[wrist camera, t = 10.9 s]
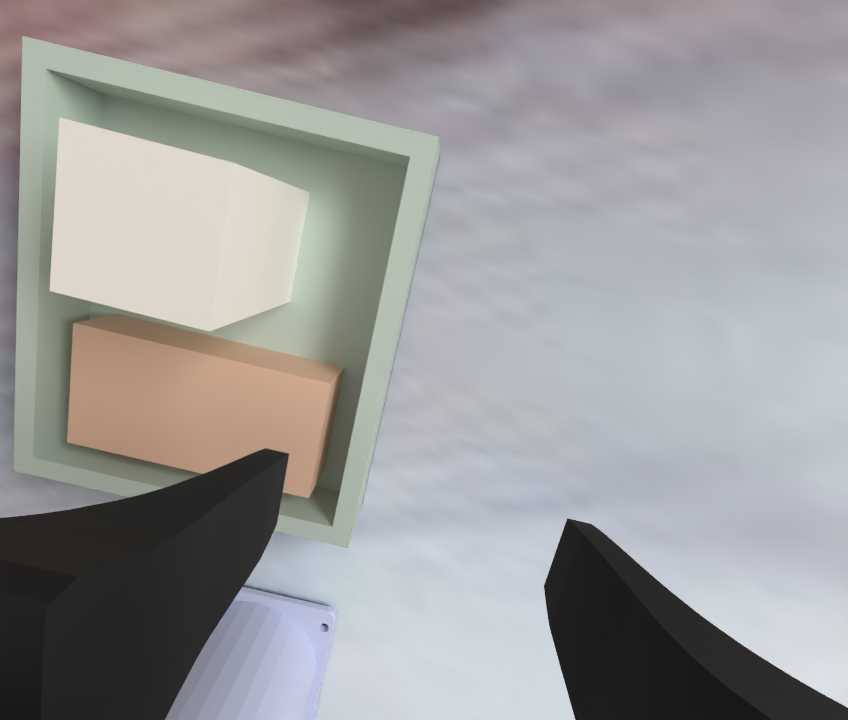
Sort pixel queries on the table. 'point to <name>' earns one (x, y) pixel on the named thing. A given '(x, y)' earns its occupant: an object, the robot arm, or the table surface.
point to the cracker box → (198, 399)
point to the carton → (170, 230)
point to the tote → (273, 329)
